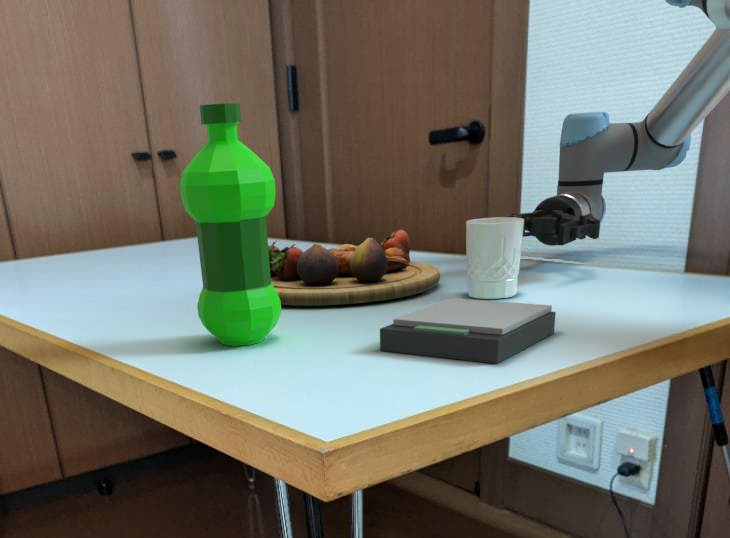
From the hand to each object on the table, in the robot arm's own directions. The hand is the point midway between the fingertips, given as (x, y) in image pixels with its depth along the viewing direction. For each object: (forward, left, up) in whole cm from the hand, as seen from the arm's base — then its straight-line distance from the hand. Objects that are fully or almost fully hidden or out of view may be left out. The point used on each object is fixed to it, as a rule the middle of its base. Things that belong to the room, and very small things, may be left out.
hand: (514, 234), depth 117 cm
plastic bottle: (+14, +45, -7) cm, 48 cm away
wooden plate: (+24, +11, -7) cm, 28 cm away
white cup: (-1, +8, -7) cm, 11 cm away
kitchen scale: (-11, +35, -7) cm, 38 cm away
